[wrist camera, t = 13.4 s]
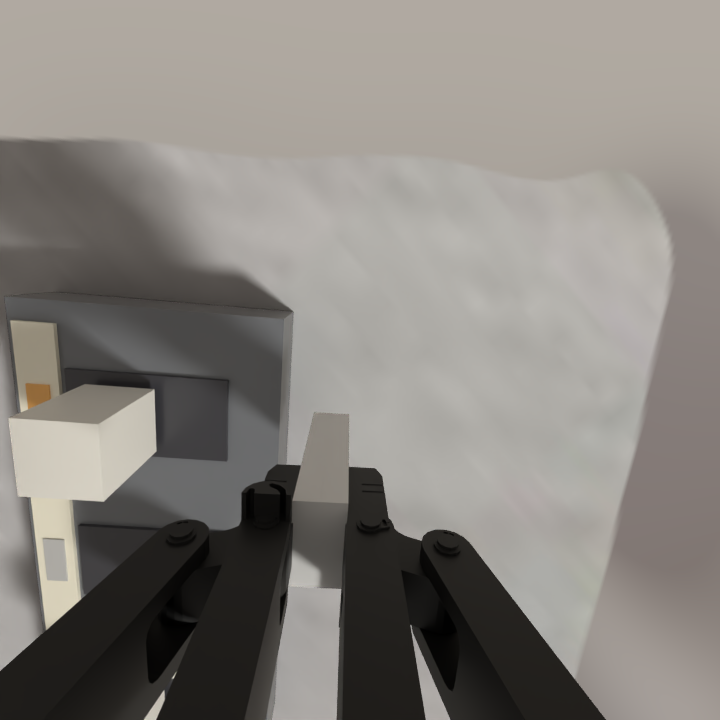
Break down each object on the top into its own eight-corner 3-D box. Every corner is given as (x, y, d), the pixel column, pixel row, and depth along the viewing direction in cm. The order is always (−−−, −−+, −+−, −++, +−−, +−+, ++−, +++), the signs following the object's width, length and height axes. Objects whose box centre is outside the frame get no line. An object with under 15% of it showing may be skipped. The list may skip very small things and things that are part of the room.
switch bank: (274, 700, 26) (264, 760, 23) (90, 693, 26) (53, 753, 23) (293, 311, 20) (283, 319, 17) (54, 292, 20) (-2, 296, 17)
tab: (156, 451, 18) (103, 501, 14) (89, 446, 18) (17, 496, 14) (154, 389, 17) (98, 424, 14) (85, 384, 17) (8, 418, 13)
